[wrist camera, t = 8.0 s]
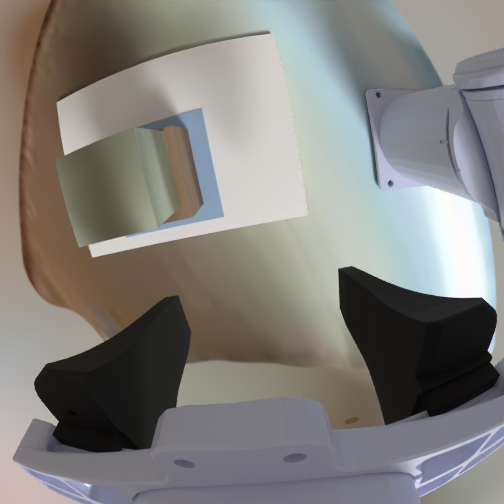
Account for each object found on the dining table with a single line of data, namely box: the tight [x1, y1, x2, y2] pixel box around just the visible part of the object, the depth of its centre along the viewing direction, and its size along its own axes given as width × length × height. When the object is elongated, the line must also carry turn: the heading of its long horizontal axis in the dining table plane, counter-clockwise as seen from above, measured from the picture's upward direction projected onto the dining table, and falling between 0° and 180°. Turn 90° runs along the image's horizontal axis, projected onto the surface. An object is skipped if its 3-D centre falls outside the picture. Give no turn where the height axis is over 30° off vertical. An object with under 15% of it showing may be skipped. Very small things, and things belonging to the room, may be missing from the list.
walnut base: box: [158, 125, 204, 224], centre depth 17 cm, size 6×6×4 cm
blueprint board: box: [57, 33, 308, 257], centre depth 19 cm, size 18×14×1 cm
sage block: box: [55, 127, 181, 247], centre depth 13 cm, size 4×4×4 cm
